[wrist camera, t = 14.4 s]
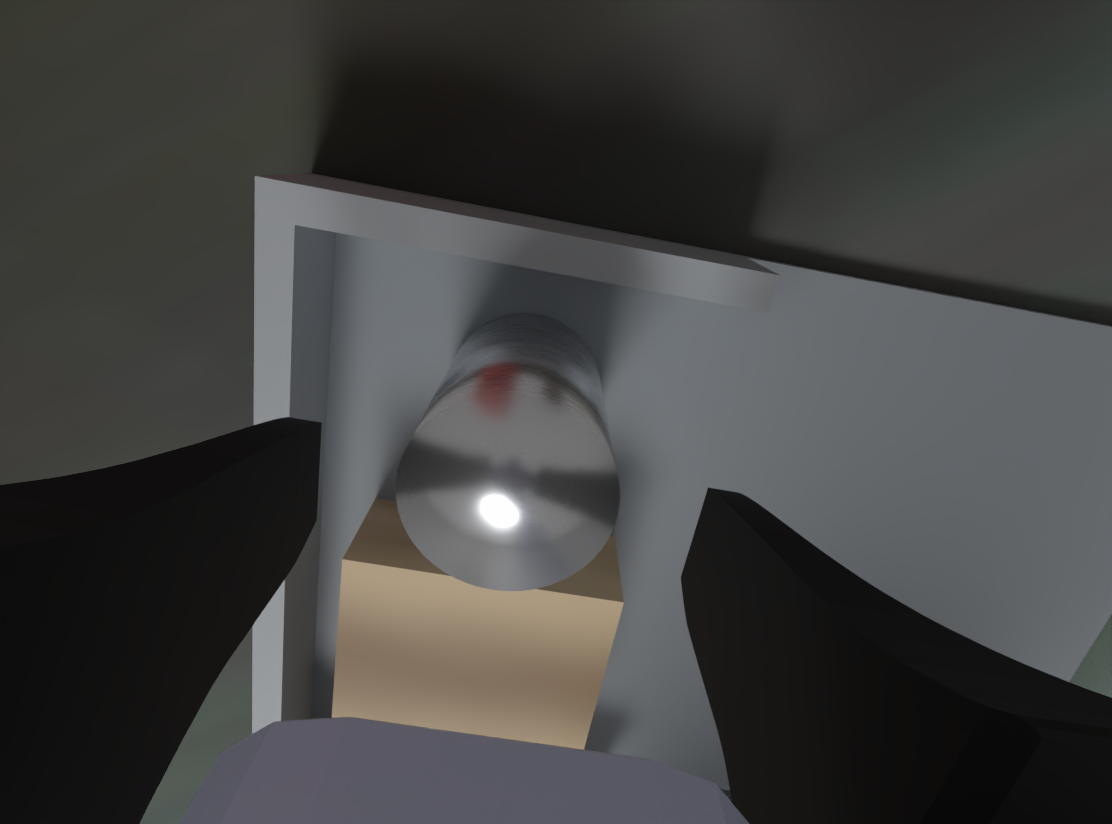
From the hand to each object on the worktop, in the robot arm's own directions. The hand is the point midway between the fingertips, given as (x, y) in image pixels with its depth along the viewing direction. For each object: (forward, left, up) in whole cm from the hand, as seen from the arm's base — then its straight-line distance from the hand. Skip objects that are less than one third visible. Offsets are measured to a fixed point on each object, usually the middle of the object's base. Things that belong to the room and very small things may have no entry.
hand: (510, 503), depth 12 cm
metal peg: (0, 0, -6) cm, 6 cm away
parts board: (-4, -6, -6) cm, 10 cm away
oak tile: (-7, 0, -6) cm, 9 cm away
